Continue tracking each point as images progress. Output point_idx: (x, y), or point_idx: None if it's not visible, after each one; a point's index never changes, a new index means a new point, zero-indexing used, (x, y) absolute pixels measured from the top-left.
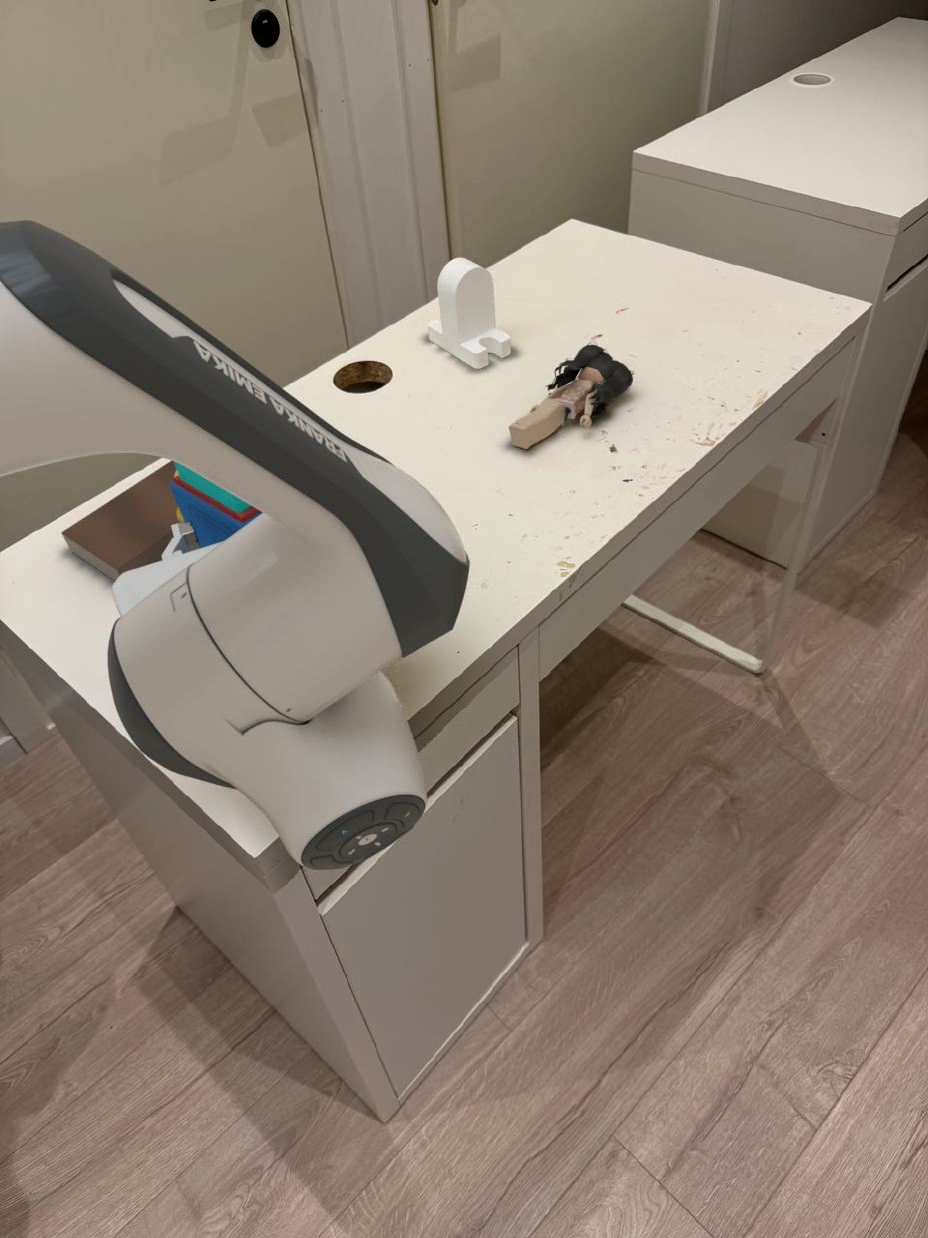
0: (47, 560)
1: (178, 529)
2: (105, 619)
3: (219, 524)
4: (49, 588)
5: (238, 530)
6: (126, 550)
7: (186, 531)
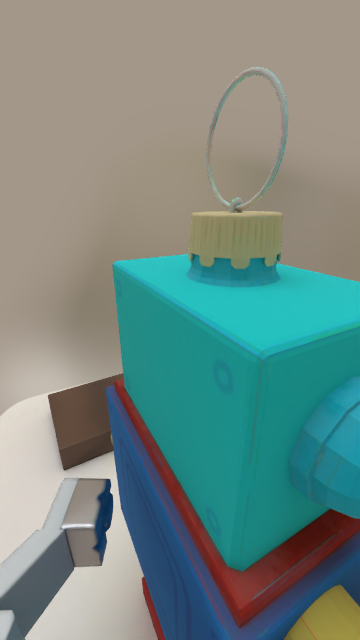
0: (31, 413)
1: (66, 502)
2: (22, 503)
3: (160, 531)
4: (11, 441)
5: (210, 629)
6: (80, 431)
7: (78, 519)
